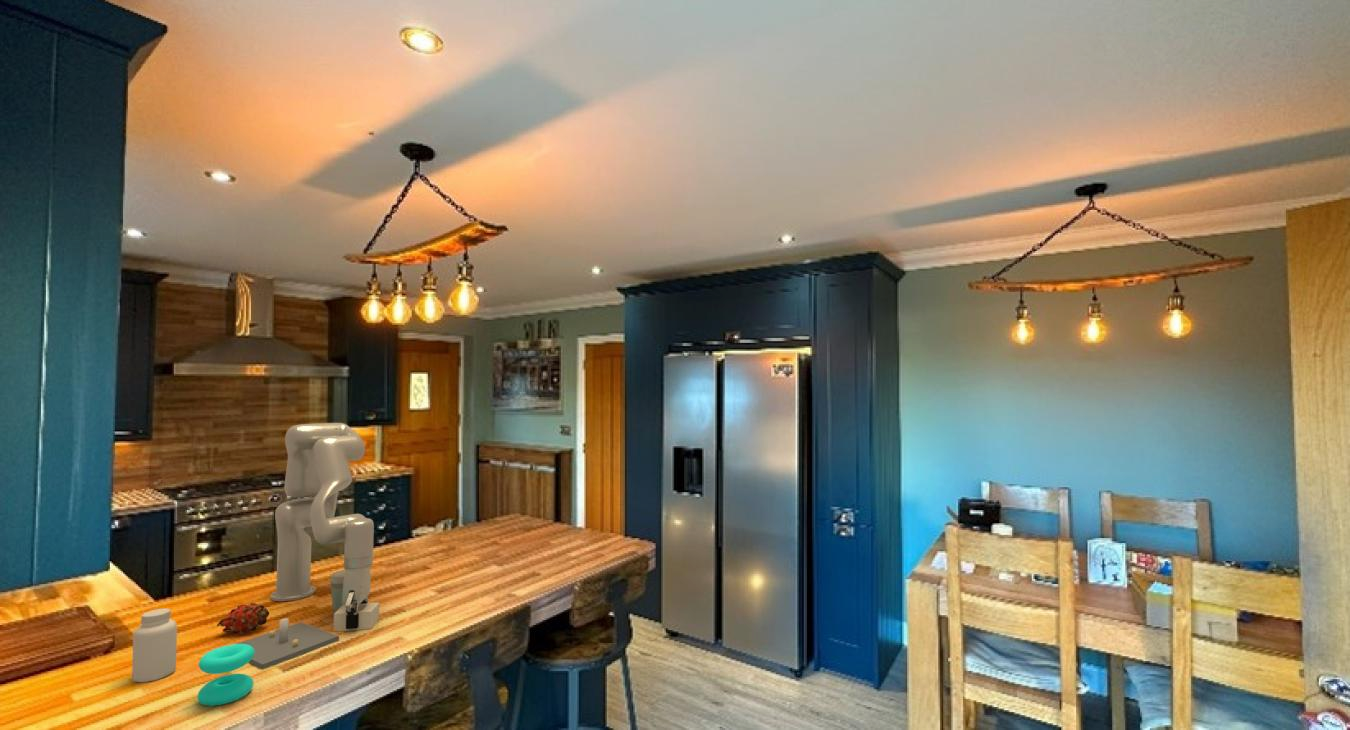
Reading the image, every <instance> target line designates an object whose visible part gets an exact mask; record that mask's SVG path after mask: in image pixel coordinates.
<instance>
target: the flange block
mask: <svg viewBox="0 0 1350 730" xmlns="http://www.w3.org/2000/svg"><path fill="white" fill-rule="evenodd" d="M352 607H354V609H355V606H352ZM357 614H359V624H358V628H356V629H346V608H345V605H343V606H341V607H340V608H339V609H338V610H337V611H336V612H335V613H334V614H333V632H344V631H345V632H348V631H358V630H359V631H361V630H362V631H363V630H372V629H373V627H374V626H375V625H376V624H377V622H378V621H379V620H380V602H368V603H364V604H359V607H358V613H357Z"/></svg>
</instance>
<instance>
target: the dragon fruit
mask: <svg viewBox="0 0 1350 730" xmlns="http://www.w3.org/2000/svg"><path fill="white" fill-rule="evenodd" d="M269 615H270V611H269V610H268V609H267V608H266V607H265V606H264V605H262V604H257V603H255V602H249V604H248V605H246V604H239V605H237V606H236V608H233V609H231V610H230V612H229V613H228V614H227V615H225V616H224V618H221V619H220V620H219V622H218V623H217V625H216V627H217V628H218V627H219V626H221V627H224V628H223V629H222V632H223V633H226V634H230V633H231V634H233V633H234V634H240V635H241V636H243V635H245V634H246V633H247V632H248V631H249V632H250V633H252V632H255V631H256V630H257V629H258V628H257V627H260V626H263V625H265V624H266V623H267V622H268V617H269Z"/></svg>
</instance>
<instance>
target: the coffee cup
mask: <svg viewBox="0 0 1350 730" xmlns="http://www.w3.org/2000/svg"><path fill="white" fill-rule="evenodd" d="M344 575H345V569H342V570H338V571H335V572H333V573H332V574H331V575H330V577H329V581H328V582H329V584H330V594H331V604H332V613H333V615H334V613H335V612H336V611H337V610H338V609H339V608H340V607H341V606H343V605H342V593H343V582H344ZM356 602H357V601H353V602H352V603H356Z"/></svg>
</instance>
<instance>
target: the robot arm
mask: <svg viewBox="0 0 1350 730" xmlns="http://www.w3.org/2000/svg"><path fill="white" fill-rule="evenodd" d="M285 433H286V434H285V436H284V437H285V439H284V444H285V448H286V452H287V464H286V469H285V470H286V471H285V480H284V492H285V493H284V494H285V495H286V496H287V497H289V498H294V499H292V500H287V501H285V502H283V503H281V504H279V505H278V506H277V507H276V509H275V514H274V518H275V524H276V531H277V533H276V534H277V552H276V553H277V556H276V559H277V561H276V581H275V582H274V586H276V587H275V588H276V590H275V591H273V592H272V593H270V595H269V596H270V600H271V601H273V602H291V601H296V600H301V599H305V598H307V597H310V596H312V595H314V594H315V593H316V587H315V586H314V585H311V568H312V566H311V565H312V538H311V536H310V535H309V533H307V532H306V531H305V528H308V527H311V530H312V534H313V537H314V540H315V541H316V542H317V543H318V544H320V545H324V546H325V545H326V546H327V545H332V544H337V543H341V542H344V549H343V550H344V551H343V570H345V575H344V582H343V593H342V605H345V608H346V629H356V628H358V624H359V614H357V613H358V607H359V604H364V603H369V597H368V596H369V594H370V592H371V581H372V580H371V579H372V577H371V568H372V567H373V564H374V536H375V535H374V528H375V523H374V521H373V520H372V519H371V518H367V517H365V515H363V514H361V513H352V514H347V515H345V514H344V515H340V516H339V515H338V516H335V515H336V514H335V513H336V509H337V503H338V495H339V492H340V491H342V490H344V489H346V488H347V487H349V486H350V485H351V484H352V481H353V477H352V475H351V471H350V466H349V462H353V461H354V462H355V461H359V460H361V459H362V458H363V457H364V455H365V453H366V451H365V450H366V446H365V444H364V440H363V438H362V437H361V436H360V435H359V433H357V432H356V431H355V430H354V429H352V428H351V427H350V426H349V425H347V423H344V422H324V423H323V422H322V423H319V422H317V423H301V424H296V425H292V426H290V427H289V428H288V429H287V430H286V432H285ZM313 496H314V497H313ZM306 497H307V498H306ZM296 498H298V499H296ZM353 601H356V603H352V602H353ZM352 606H355V609H354V607H352Z"/></svg>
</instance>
